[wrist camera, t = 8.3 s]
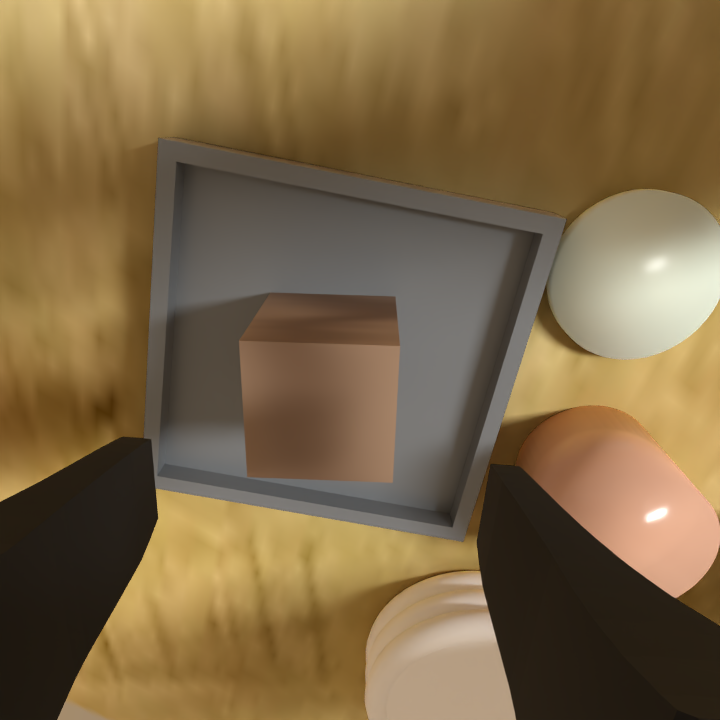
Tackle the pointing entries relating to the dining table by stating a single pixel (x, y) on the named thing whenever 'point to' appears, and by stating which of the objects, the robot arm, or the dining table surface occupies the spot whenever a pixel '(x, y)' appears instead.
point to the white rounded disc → (636, 273)
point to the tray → (340, 277)
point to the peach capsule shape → (625, 493)
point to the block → (321, 387)
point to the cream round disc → (436, 655)
